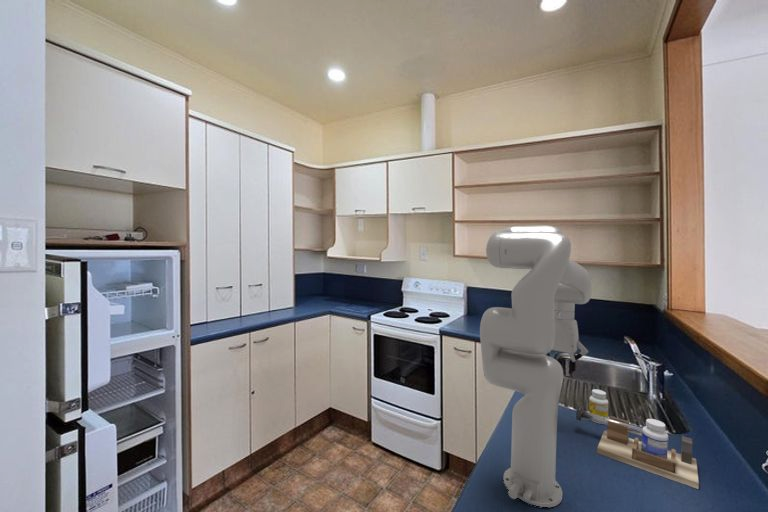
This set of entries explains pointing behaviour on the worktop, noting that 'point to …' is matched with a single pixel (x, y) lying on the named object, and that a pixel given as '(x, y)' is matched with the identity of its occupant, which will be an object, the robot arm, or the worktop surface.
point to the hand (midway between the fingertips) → (559, 369)
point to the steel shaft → (604, 420)
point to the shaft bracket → (649, 455)
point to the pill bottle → (655, 438)
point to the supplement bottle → (598, 403)
